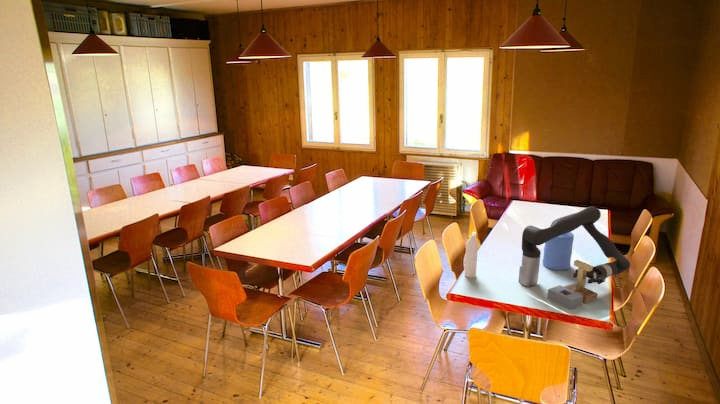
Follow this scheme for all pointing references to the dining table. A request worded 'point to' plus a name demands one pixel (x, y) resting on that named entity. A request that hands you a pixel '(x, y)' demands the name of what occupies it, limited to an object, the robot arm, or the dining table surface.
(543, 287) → the dining table surface
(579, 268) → the t key
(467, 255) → the water bottle
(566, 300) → the block
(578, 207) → the dining table surface
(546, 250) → the water jug
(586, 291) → the block
